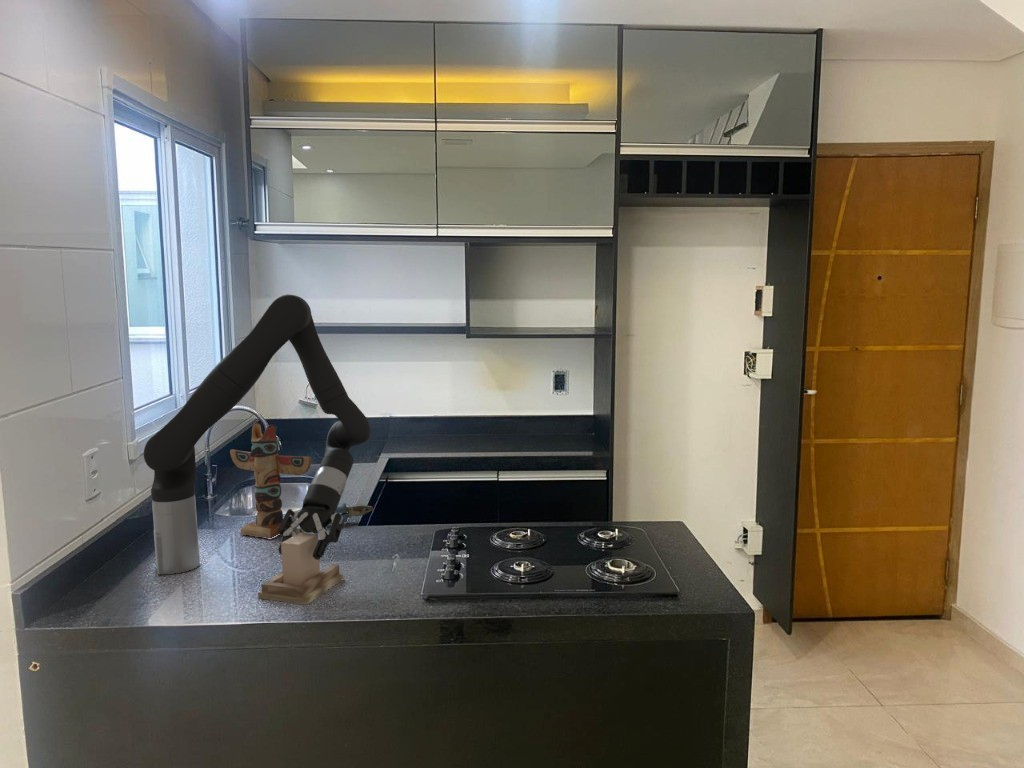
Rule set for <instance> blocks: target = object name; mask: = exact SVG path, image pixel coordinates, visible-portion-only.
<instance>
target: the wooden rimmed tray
mask: <svg viewBox="0 0 1024 768" xmlns="http://www.w3.org/2000/svg"><path fill="white" fill-rule="evenodd" d="M342 579H343V580H344V573H340V565H339V564H333V563H332V565H330V566H329V567H327V568H325V569H324V570H322V571H321V570H320V573H319V574H317V575H316V576H314V577H313V578H311V579H310V580H308V581H307V582H305V583H303V584H302V585H292V584H283V571H281V572H280V573H278V574H276V575H274V576H272V577H271V578H269V579H267V580H265V581H264V582H263V583H261V590H260V591H258V593H257V597H258V599H260V600H261V599H263V600H270V601H278V602H285V603H291V604H301V605H309V604H310V603H312V602H313V601H315V600H316V599H317V598H319V597H320V596H322V595H323V594H325V593H326V592H328V591H329V590H330V589H332V588H333V587H334V586H336V585H337V584H338V582H339V581H340V582H342V581H343V580H342ZM340 582H339V583H340ZM335 584H336V585H335ZM332 586H333V587H332ZM328 589H329V590H328Z"/></svg>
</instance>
